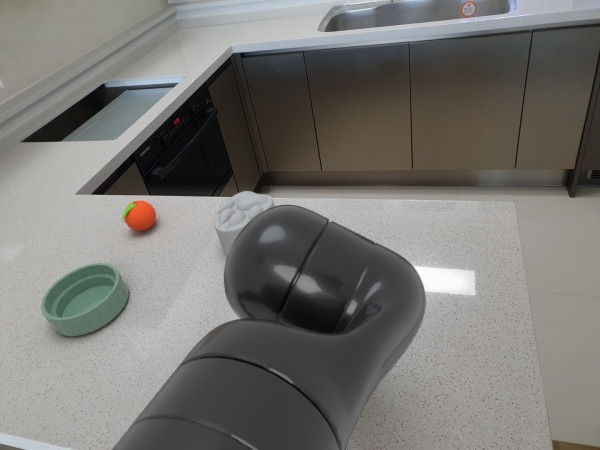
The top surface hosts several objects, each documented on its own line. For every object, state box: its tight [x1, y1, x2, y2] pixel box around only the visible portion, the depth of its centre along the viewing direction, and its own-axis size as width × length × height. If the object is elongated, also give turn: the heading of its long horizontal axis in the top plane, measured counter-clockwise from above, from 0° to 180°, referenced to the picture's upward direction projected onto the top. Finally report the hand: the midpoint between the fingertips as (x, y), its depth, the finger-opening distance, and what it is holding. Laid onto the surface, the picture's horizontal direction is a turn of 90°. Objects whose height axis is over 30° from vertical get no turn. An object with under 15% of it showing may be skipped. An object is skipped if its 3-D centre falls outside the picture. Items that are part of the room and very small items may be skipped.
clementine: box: [121, 200, 157, 232], centre depth 103 cm, size 8×7×7 cm
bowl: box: [40, 262, 129, 337], centre depth 86 cm, size 14×14×5 cm
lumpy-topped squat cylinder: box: [213, 190, 276, 257], centre depth 93 cm, size 10×13×9 cm
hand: (328, 288), depth 57 cm, fingers closed on cup, 6 cm apart
